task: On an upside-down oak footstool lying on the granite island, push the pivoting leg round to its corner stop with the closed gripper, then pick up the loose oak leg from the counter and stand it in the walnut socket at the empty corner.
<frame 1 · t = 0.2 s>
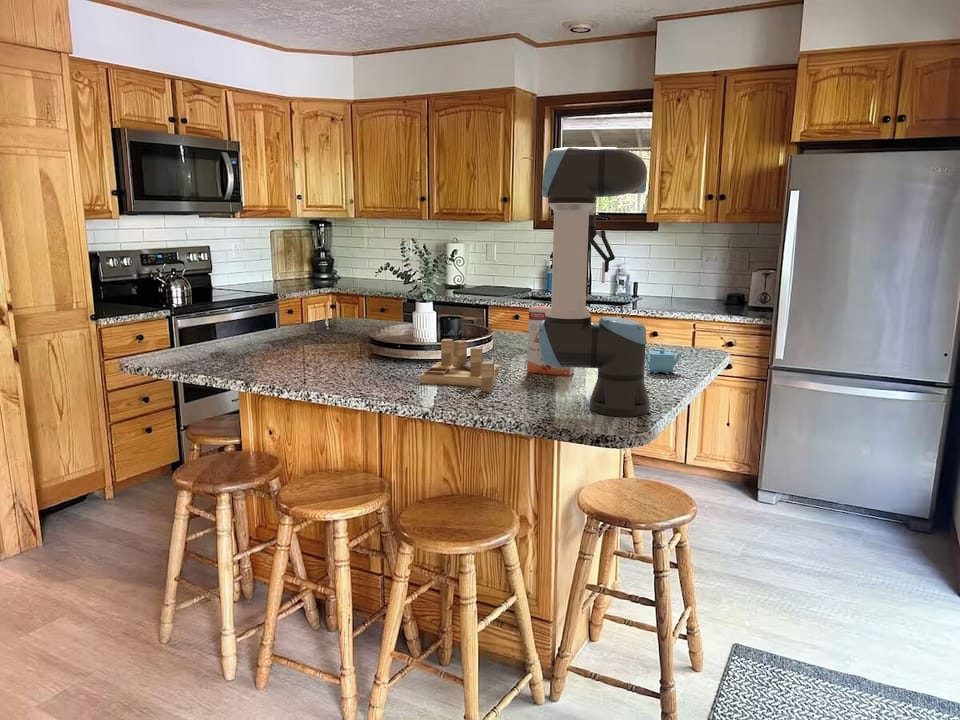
hand: (581, 282, 227), 28 cm above the countertop, fingers open, 13 cm apart
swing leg: (469, 355, 217), point 7 cm above the countertop, hinge at 60.0°
teapot: (663, 373, 228), on the countertop
cracker box: (550, 373, 226), on the countertop
loose leg: (487, 390, 203), on the countertop
seat: (461, 377, 219), on the countertop
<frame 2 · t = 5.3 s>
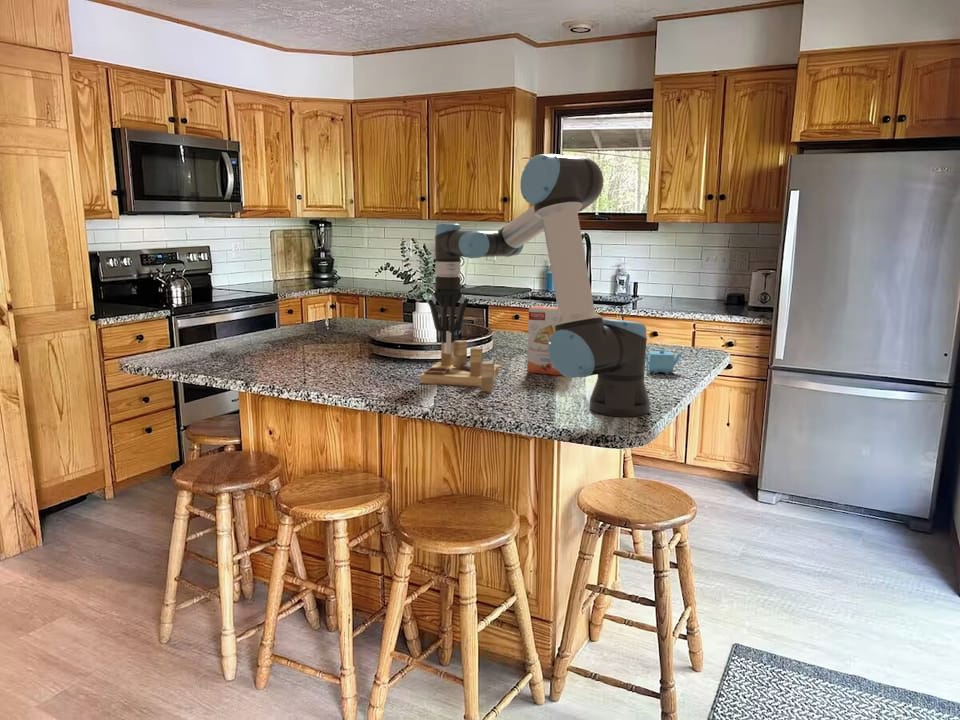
hand: (447, 353, 219), 7 cm above the countertop, fingers closed
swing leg: (469, 355, 217), point 7 cm above the countertop, hinge at 59.7°, touching gripper
everything else where it was.
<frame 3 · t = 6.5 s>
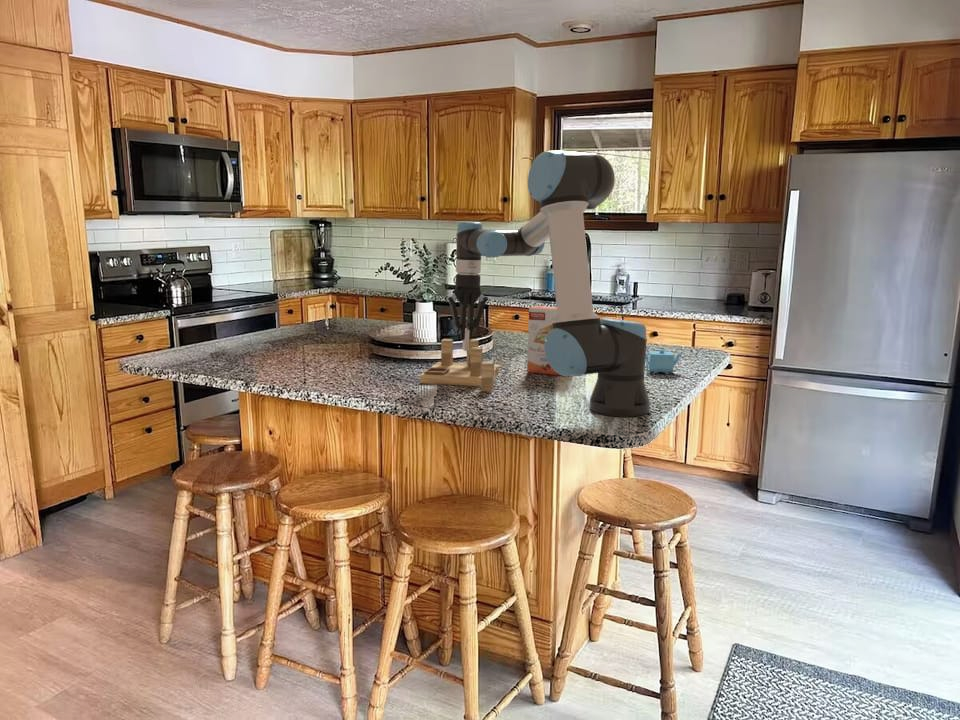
hand: (465, 349, 221), 8 cm above the countertop, fingers closed
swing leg: (475, 355, 218), point 7 cm above the countertop, hinge at 26.8°, touching gripper
everything else where it was.
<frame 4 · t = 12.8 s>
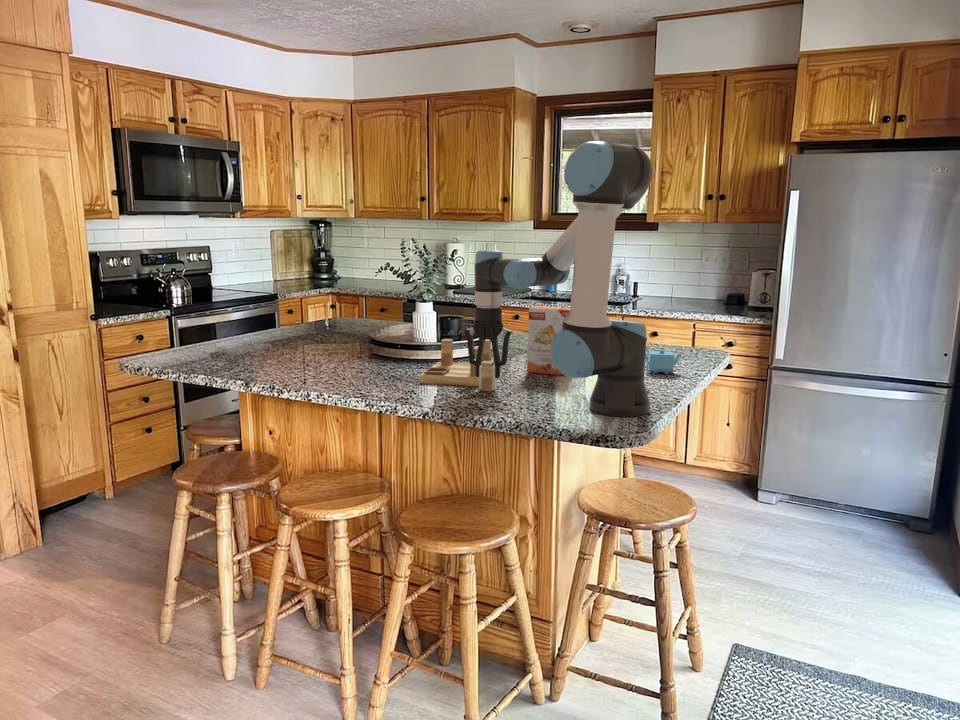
hand: (487, 388, 203), 0 cm above the countertop, fingers closed on loose leg, 3 cm apart
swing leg: (482, 355, 218), point 7 cm above the countertop, hinge at -0.9°
loose leg: (487, 389, 203), on the countertop, touching gripper
everything else where it was.
when the fingers open (4 cm above the countertop, at t = 17.9 s): loose leg stays where it is, resting on seat.
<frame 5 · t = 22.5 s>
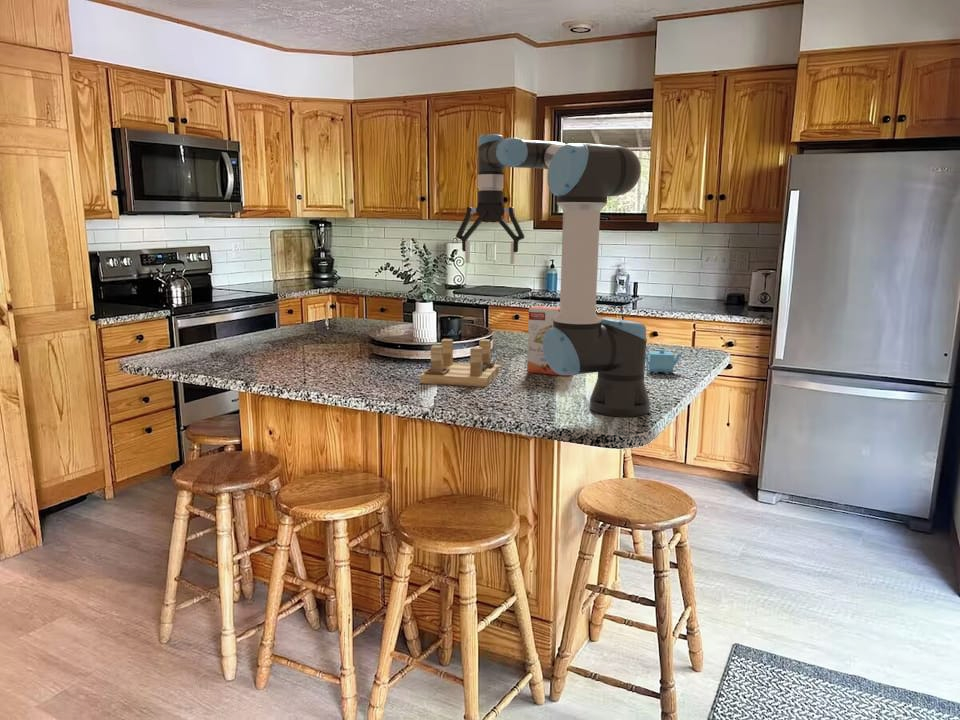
hand: (489, 263, 213), 35 cm above the countertop, fingers open, 13 cm apart
loose leg: (437, 372, 213), point 2 cm above the countertop, touching seat
everything else where it was.
at the end: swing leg at -1° (first picture: +60°); loose leg 0.1 cm from the target spot on the seat, point 2.5 cm above the seat's base; loose leg tilted 0° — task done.
